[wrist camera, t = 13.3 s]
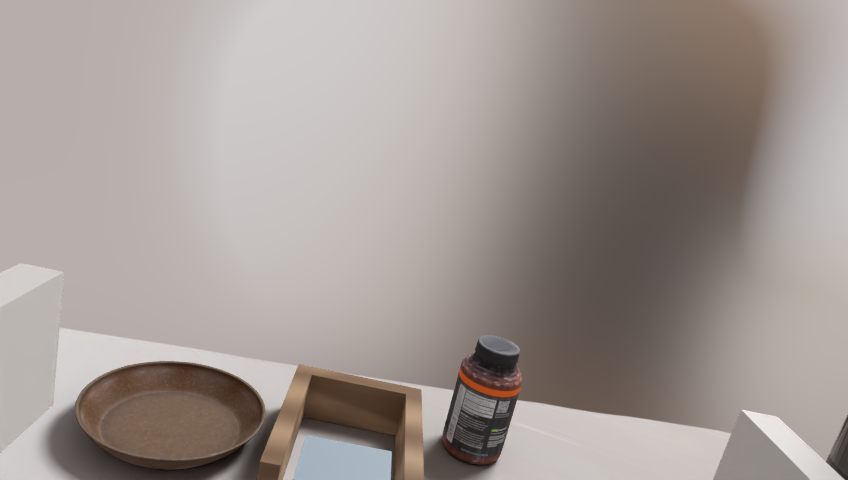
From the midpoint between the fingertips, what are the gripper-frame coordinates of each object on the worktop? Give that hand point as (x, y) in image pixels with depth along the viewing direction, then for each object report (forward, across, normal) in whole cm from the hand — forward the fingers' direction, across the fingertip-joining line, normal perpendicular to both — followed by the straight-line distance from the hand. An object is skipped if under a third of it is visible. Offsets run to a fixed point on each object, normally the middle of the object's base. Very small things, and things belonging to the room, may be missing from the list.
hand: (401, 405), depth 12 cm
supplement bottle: (+42, +12, -27) cm, 51 cm away
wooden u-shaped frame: (+35, 0, -27) cm, 44 cm away
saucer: (+36, -15, -27) cm, 47 cm away
